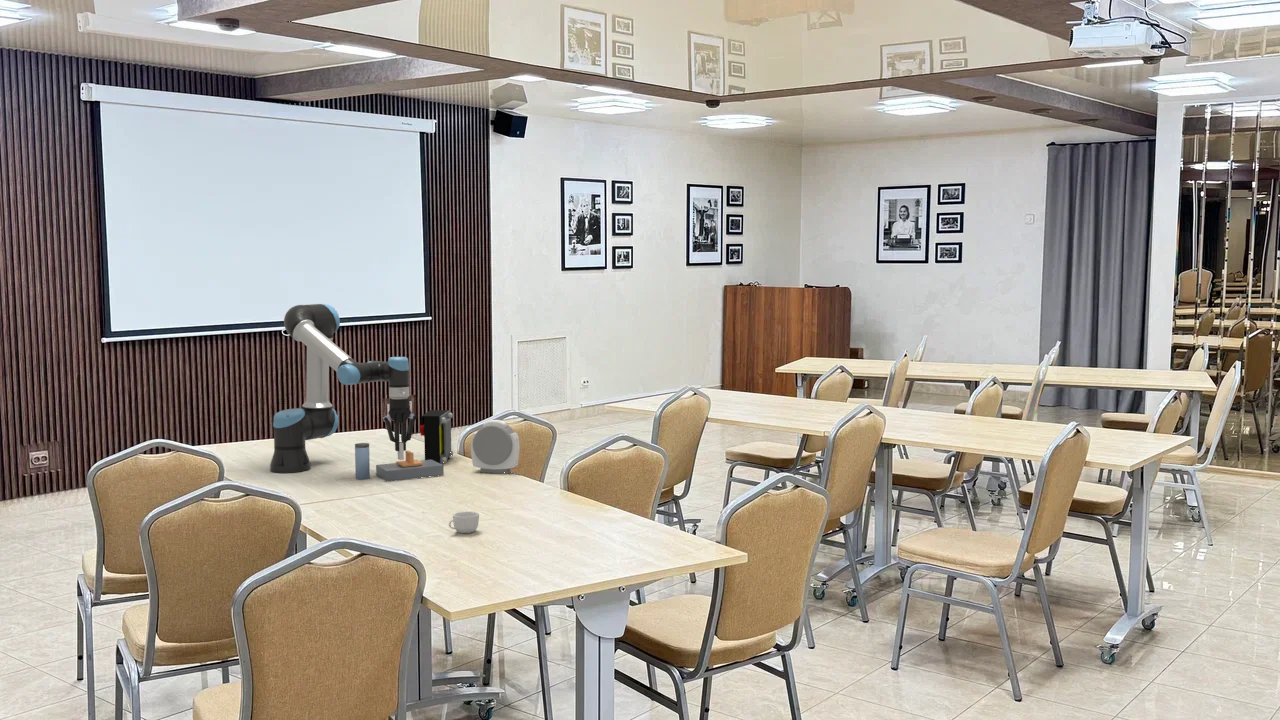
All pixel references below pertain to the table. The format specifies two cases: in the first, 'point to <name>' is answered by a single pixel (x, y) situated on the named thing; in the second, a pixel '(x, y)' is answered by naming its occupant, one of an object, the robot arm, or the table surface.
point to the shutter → (409, 460)
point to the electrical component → (437, 435)
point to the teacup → (465, 521)
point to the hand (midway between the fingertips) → (400, 459)
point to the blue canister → (362, 461)
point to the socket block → (409, 470)
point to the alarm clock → (495, 447)
